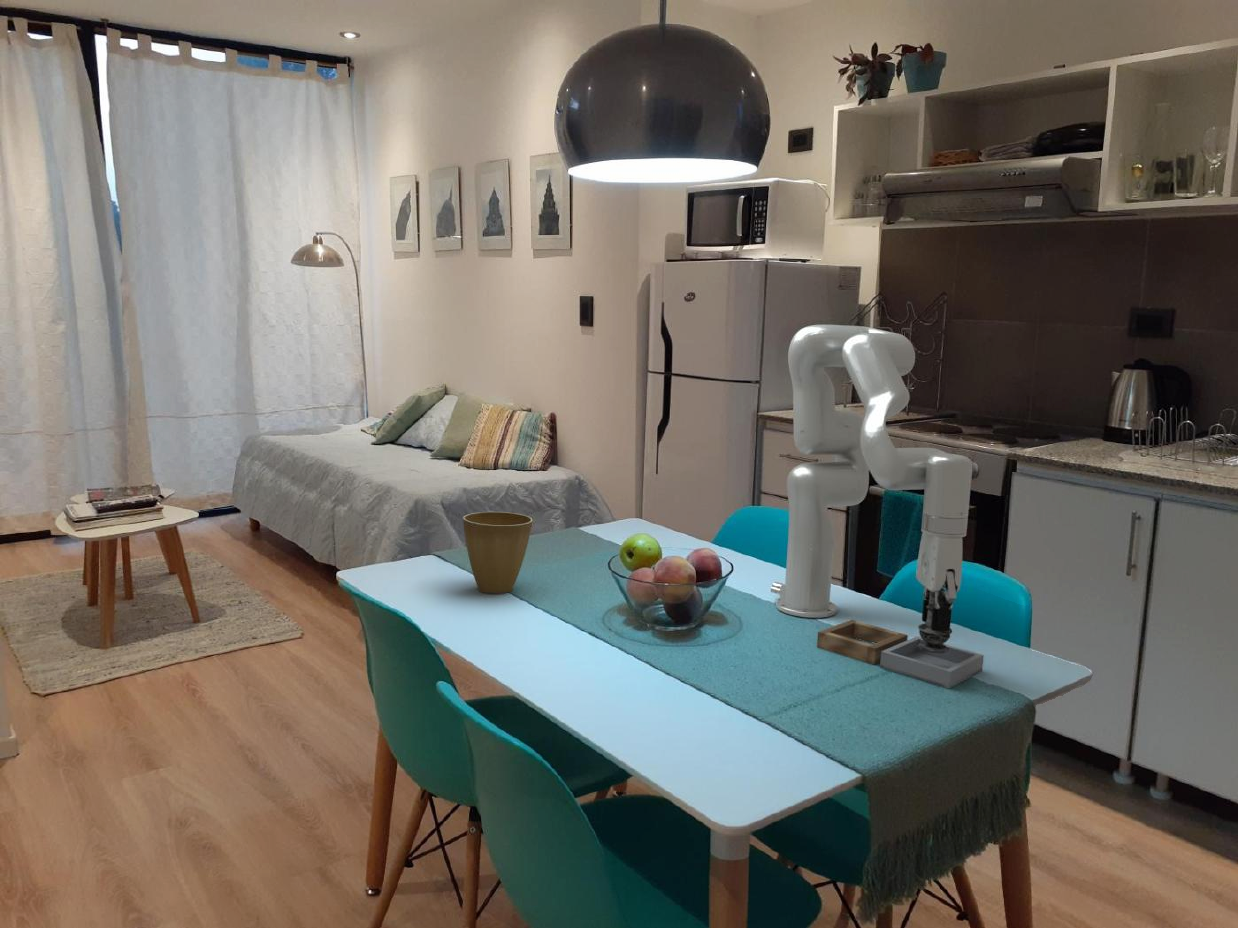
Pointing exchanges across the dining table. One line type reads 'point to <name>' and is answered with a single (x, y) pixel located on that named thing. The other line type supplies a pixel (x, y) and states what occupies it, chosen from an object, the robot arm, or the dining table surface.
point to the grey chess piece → (933, 638)
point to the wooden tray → (842, 643)
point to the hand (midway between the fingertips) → (935, 624)
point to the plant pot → (496, 548)
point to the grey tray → (931, 663)
